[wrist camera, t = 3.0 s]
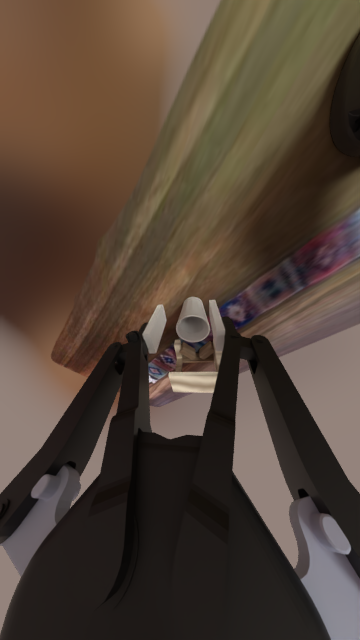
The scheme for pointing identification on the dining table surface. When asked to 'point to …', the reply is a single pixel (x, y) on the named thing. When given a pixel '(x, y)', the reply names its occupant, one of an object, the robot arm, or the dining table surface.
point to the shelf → (195, 379)
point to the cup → (193, 321)
